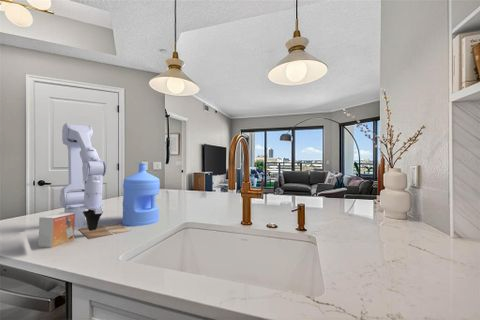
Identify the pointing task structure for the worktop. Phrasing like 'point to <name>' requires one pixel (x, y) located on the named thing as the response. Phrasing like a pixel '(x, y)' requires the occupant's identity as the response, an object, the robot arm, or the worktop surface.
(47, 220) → the small box
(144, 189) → the water jug
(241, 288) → the worktop surface
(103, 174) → the robot arm
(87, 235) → the walnut plank
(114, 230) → the oak floor strip
